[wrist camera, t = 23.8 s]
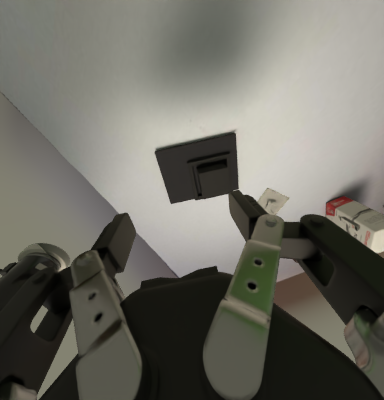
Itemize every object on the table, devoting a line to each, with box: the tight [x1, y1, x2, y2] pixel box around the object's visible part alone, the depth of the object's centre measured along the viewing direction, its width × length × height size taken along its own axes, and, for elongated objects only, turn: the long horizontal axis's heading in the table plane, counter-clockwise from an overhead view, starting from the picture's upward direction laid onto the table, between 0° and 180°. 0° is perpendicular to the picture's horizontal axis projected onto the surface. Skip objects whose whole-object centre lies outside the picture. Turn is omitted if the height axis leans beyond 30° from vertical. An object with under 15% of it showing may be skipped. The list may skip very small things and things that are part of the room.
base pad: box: [155, 133, 239, 204], centre depth 32 cm, size 16×12×2 cm
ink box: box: [326, 196, 384, 253], centre depth 37 cm, size 9×5×12 cm, turn 25°
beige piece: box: [257, 188, 289, 215], centre depth 39 cm, size 7×12×2 cm, turn 155°
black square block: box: [196, 162, 230, 199], centre depth 31 cm, size 6×6×4 cm
